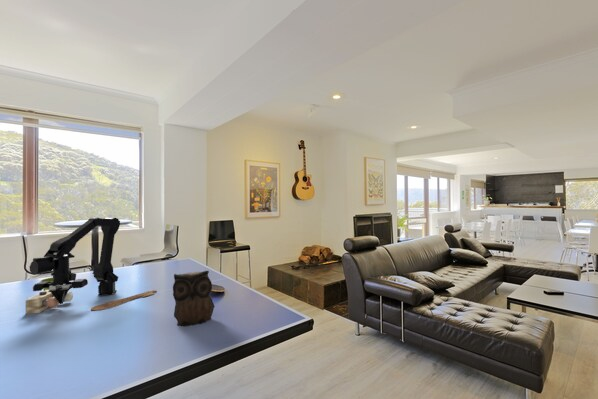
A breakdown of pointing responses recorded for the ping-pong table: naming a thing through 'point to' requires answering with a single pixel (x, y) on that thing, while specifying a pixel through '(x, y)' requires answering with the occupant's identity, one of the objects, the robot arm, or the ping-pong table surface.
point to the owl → (192, 298)
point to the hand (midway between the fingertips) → (61, 303)
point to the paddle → (122, 301)
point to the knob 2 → (67, 297)
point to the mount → (37, 302)
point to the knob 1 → (50, 302)
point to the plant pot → (47, 280)
